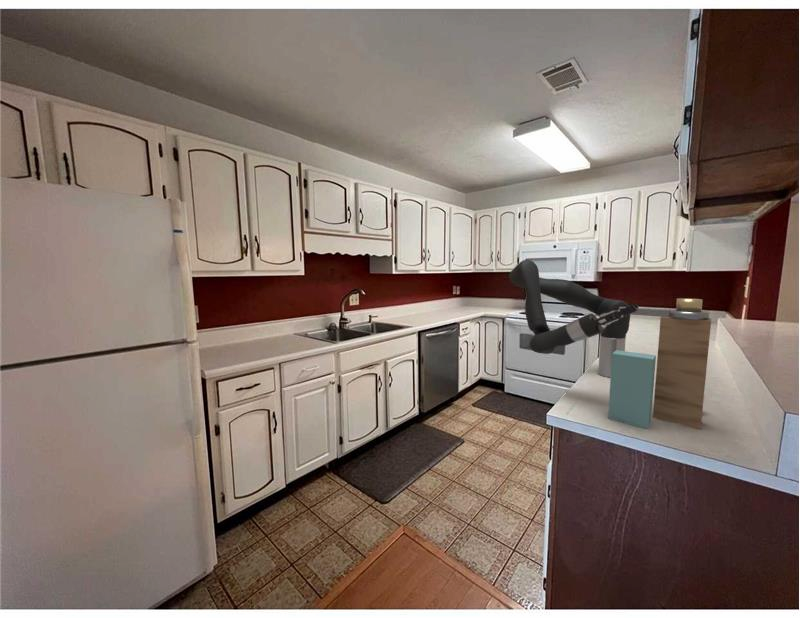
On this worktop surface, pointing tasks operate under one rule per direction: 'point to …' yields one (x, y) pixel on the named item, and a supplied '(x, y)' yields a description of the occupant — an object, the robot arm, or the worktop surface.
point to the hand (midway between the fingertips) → (636, 307)
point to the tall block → (631, 388)
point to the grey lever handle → (677, 310)
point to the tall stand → (681, 370)
